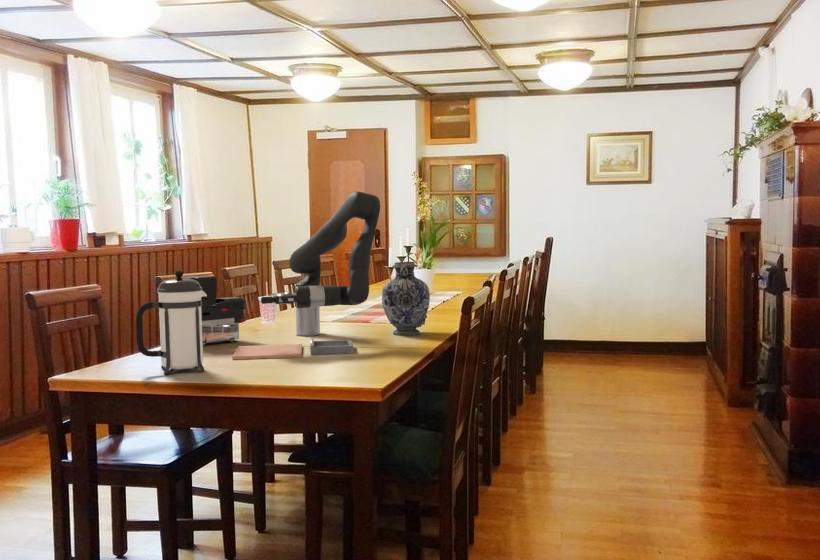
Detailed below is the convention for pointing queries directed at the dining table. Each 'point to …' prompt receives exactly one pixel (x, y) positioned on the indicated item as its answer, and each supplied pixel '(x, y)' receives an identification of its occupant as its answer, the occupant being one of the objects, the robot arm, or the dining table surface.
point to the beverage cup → (267, 310)
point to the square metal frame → (330, 347)
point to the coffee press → (176, 324)
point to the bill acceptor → (219, 312)
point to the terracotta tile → (268, 351)
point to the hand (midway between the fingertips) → (260, 299)
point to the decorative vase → (406, 300)
